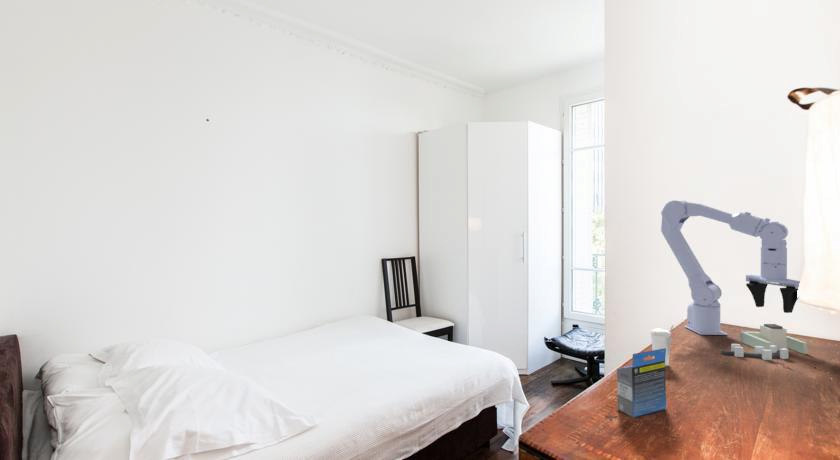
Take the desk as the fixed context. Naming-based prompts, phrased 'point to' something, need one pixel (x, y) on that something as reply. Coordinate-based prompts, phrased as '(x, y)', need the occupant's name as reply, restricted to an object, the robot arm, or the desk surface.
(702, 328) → the robot arm
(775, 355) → the cable
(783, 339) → the block
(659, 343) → the milkshake
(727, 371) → the desk surface
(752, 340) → the holder
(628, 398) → the label tape cartridge
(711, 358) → the desk surface
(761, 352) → the clips
